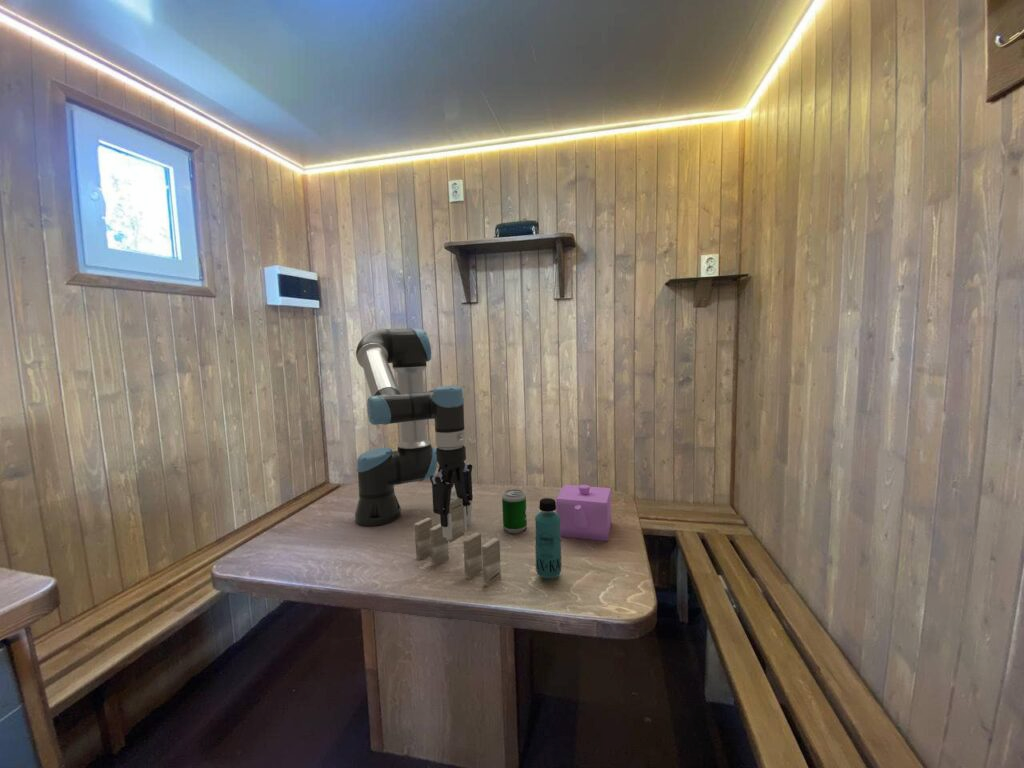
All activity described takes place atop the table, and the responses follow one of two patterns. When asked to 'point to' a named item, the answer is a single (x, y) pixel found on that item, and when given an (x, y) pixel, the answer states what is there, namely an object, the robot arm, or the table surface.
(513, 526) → the soda can
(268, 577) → the table surface
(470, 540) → the domino
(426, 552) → the domino
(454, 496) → the dixie cup
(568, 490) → the purple lidded box
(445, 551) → the domino
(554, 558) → the beverage bottle
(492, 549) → the domino
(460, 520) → the domino
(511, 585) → the table surface
